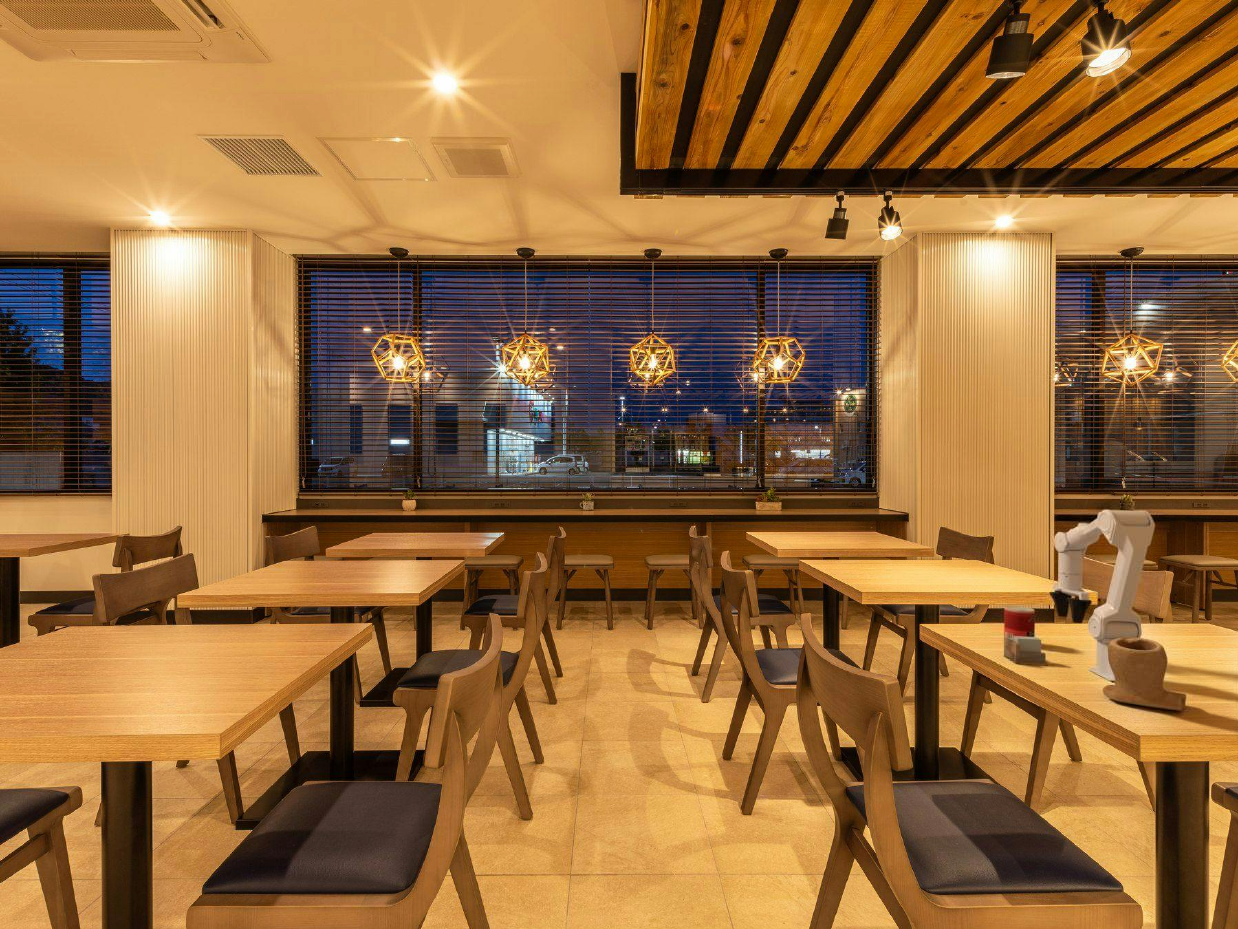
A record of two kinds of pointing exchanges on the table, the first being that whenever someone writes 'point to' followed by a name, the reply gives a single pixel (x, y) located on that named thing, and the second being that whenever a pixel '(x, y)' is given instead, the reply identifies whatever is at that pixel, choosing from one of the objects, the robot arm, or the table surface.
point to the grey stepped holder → (1022, 654)
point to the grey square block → (1028, 644)
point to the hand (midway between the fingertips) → (1069, 619)
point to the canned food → (1019, 621)
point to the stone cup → (1140, 674)
